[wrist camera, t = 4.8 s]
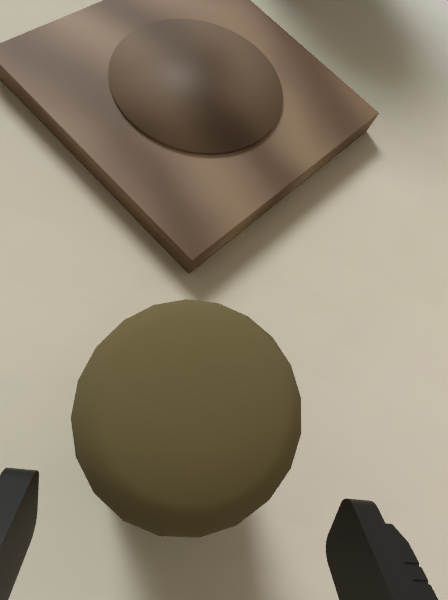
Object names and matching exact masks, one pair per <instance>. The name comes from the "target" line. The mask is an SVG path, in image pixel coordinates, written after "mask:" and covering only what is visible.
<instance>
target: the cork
mask: <svg viewBox="0 0 448 600" xmlns="http://www.w3.org/2000/svg"><path fill="white" fill-rule="evenodd" d="M71 422H72V430H73V437H74V445H75V452H76V458H77V460H78V462H79V464H80V466H81V468H82V470H83V472H84V474H85V476H86V478H87V480H88V482H89V484H90V486H91V488H92V490H93V492H94V493H95V494H96V495H97V496H98V497H99V498H100V499H101V500H102V501H103V502H104V503H105V504H106V505H107V506H108V507H109V508H111V509H112V510H113V511H114V512H115V513H116V514H117V515H118V516H119V517H120V518H121V519H122V520H123V521H126V522H128V523H130V524H133V525H135V526H138V527H140V528H142V529H145V530H147V531H149V532H152V533H154V534H156V535H159V536H176V537H202V536H205V535H208V534H211V533H214V532H217V531H220V530H223V529H226V528H229V527H233V526H236V525H237V524H239V523H240V522H241V521H242V520H244V519H245V518H246V517H248V516H249V515H250V514H252V513H253V512H254V511H255V510H257V509H258V508H259V507H261V506H262V505H263V504H265V503H266V502H267V501H268V500H269V499H270V498H271V497H272V495H273V494H274V492H275V491H276V489H277V488H278V486H279V485H280V483H281V482H282V480H283V479H284V477H285V476H286V474H287V473H288V471H289V470H290V468H291V465H292V462H293V459H294V455H295V452H296V449H297V445H298V442H299V438H300V435H301V397H300V394H299V391H298V387H297V384H296V381H295V377H294V374H293V371H292V367H291V365H290V363H289V362H288V360H287V359H286V357H285V356H284V354H283V353H282V351H281V350H280V348H279V346H278V345H277V343H276V342H275V340H274V339H273V337H271V336H270V335H269V334H268V333H267V332H266V331H264V330H263V329H262V328H261V327H260V326H259V325H257V324H256V323H255V322H254V321H253V320H251V319H250V318H249V317H248V316H246V315H243V314H241V313H239V312H237V311H234V310H232V309H230V308H228V307H225V306H223V305H221V304H218V303H210V302H202V301H195V300H181V301H175V302H169V303H163V304H158V305H153V306H151V307H149V308H147V309H145V310H143V311H141V312H139V313H138V314H136V315H134V316H132V317H130V318H128V319H126V320H124V321H123V322H122V323H121V324H120V325H119V326H118V327H117V328H115V329H114V330H113V331H112V332H111V333H110V334H109V335H108V336H107V337H106V338H105V339H104V340H103V341H102V342H101V343H100V344H99V345H98V346H97V347H96V349H95V350H94V352H93V354H92V356H91V358H90V360H89V361H88V363H87V365H86V367H85V369H84V371H83V372H82V374H81V376H80V378H79V380H78V384H77V389H76V394H75V400H74V405H73V410H72V415H71Z"/></svg>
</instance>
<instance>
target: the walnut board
mask: <svg viewBox="0 0 448 600" xmlns="http://www.w3.org/2000/svg"><path fill="white" fill-rule="evenodd" d="M0 79H1V81H2V82H3V83H4V84H5V85H6V86H7V87H8V88H9V89H10V90H11V91H12V92H13V93H14V94H15V95H16V96H17V97H18V98H19V99H20V100H21V101H22V102H23V103H24V104H25V105H26V106H27V107H28V108H29V109H30V110H31V111H32V112H33V113H34V115H35V116H36V117H37V118H38V119H39V120H40V121H41V122H42V123H43V124H44V125H45V126H46V127H47V128H48V129H49V130H50V131H51V132H52V133H53V134H54V135H55V136H56V137H57V138H58V139H59V140H60V141H61V142H62V143H63V144H64V145H65V146H66V147H67V148H68V150H69V151H70V152H71V153H72V154H73V155H74V156H75V157H76V158H77V159H78V160H79V161H80V162H81V163H82V164H83V165H84V166H85V167H86V168H87V169H88V170H89V171H90V172H91V173H92V174H93V175H94V176H95V177H96V178H97V179H98V180H99V181H100V182H101V184H102V185H103V186H104V187H105V188H106V189H107V190H108V191H109V192H110V193H111V194H112V195H113V196H114V197H115V198H116V199H117V200H118V201H119V202H120V203H121V204H122V205H123V206H124V207H125V208H126V209H127V210H128V211H129V212H130V213H131V214H132V215H133V216H134V217H135V219H136V220H137V221H138V222H139V223H140V224H141V225H142V226H143V227H144V228H145V229H146V230H147V231H148V232H149V233H150V234H151V235H152V236H153V237H154V238H155V239H156V240H157V241H158V242H159V243H160V244H161V245H162V246H163V247H164V248H165V249H166V250H167V251H168V253H169V254H170V255H171V256H172V257H173V258H174V259H175V260H176V261H177V262H178V263H179V264H180V265H181V266H182V267H183V268H184V269H185V270H186V271H187V272H188V273H190V272H191V271H192V270H194V269H195V268H196V267H197V266H199V265H200V264H201V263H202V262H204V261H205V260H206V259H207V258H209V257H210V256H211V255H212V254H214V253H215V252H216V251H217V250H219V249H220V248H221V247H222V246H224V245H225V244H226V243H227V242H229V241H230V240H231V239H232V238H234V237H235V236H236V235H237V234H239V233H240V232H241V231H242V230H244V229H245V228H246V227H247V226H249V225H250V224H251V223H252V222H254V221H255V220H256V219H257V218H259V217H260V216H261V215H262V214H264V213H265V212H266V211H267V210H268V209H270V208H271V207H272V206H273V205H275V204H276V203H277V202H278V201H280V200H281V199H282V198H283V197H285V196H286V195H287V194H288V193H290V192H291V191H292V190H293V189H295V188H296V187H297V186H298V185H300V184H301V183H302V182H303V181H305V180H306V179H307V178H308V177H310V176H311V175H312V174H313V173H315V172H316V171H317V170H318V169H320V168H321V167H322V166H323V165H325V164H326V163H327V162H328V161H330V160H331V159H332V158H333V157H335V156H336V155H337V154H338V153H340V152H341V151H342V150H343V149H345V148H346V147H347V146H348V145H350V144H351V143H352V142H353V141H355V140H356V139H357V138H358V137H360V136H361V135H362V134H363V133H365V132H366V131H367V130H368V128H369V127H370V125H371V124H372V122H373V121H374V120H375V118H376V117H377V115H378V114H379V113H378V112H377V111H376V110H375V109H374V108H373V107H371V106H370V105H369V104H368V103H367V102H366V101H365V100H363V99H362V98H361V97H360V96H359V95H358V94H357V93H355V92H354V91H353V90H352V89H351V88H350V87H349V86H347V85H346V84H345V83H344V82H343V81H342V80H341V79H339V78H338V77H337V76H336V75H335V74H334V73H333V72H331V71H330V70H329V69H328V68H327V67H326V66H325V65H323V64H322V63H321V62H320V61H319V60H318V59H317V58H315V57H314V56H313V55H312V54H311V53H310V52H309V51H307V50H306V49H305V48H304V47H303V46H302V45H301V44H299V43H298V42H297V41H296V40H295V39H294V38H293V37H291V36H290V35H289V34H288V33H287V32H286V31H285V30H283V29H282V28H281V27H280V26H279V25H278V24H277V23H275V22H274V21H273V20H272V19H271V18H270V17H269V16H267V15H266V14H265V13H264V12H263V11H262V10H261V9H259V8H258V7H257V6H256V5H255V4H254V3H253V2H251V1H250V0H103V1H101V2H98V3H96V4H94V5H91V6H89V7H86V8H84V9H82V10H79V11H77V12H74V13H72V14H70V15H67V16H65V17H62V18H60V19H58V20H55V21H53V22H50V23H48V24H46V25H43V26H41V27H38V28H36V29H34V30H31V31H29V32H26V33H24V34H22V35H19V36H17V37H14V38H12V39H10V40H7V41H5V42H2V43H0Z"/></svg>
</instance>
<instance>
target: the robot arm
mask: <svg viewBox="0 0 448 600" xmlns="http://www.w3.org/2000/svg"><path fill="white" fill-rule="evenodd" d="M38 485H39V472H38V471H36V470H26V469H15V468H5V469H4V470H3V472H2V473H1V475H0V600H8V599H9V596H10V594H11V591H12V588H13V586H14V583H15V581H16V578H17V576H18V573H19V570H20V568H21V565H22V563H23V560H24V558H25V555H26V552H27V550H28V547H29V545H30V542H31V539H32V536H33V532H34V529H35V524H36V519H37V506H38ZM326 556H327V561H328V565H329V568H330V571H331V575H332V578H333V581H334V584H335V587H336V591H337V594H338V597H339V600H438V598H437V597H436V595H435V593H434V591H433V589H432V587H431V585H429V584H428V579H427V577H426V575H425V574H424V572H423V570H422V568H421V567H419V562H418V560H417V558H416V556H415V554H414V552H413V550H412V549H411V547H410V545H409V543H408V542H407V540H406V539H405V538H404V537H403V536H402V535H401V534H400V532H399V531H398V530H397V529H396V528H395V527H394V526H393V525H392V524H385V522H384V520H383V518H382V516H381V513H380V511H379V509H378V507H377V506H376V504H375V503H374V502H372V501H366V500H356V499H344V500H343V501H342V502H341V505H340V507H339V509H338V512H337V514H336V517H335V519H334V522H333V524H332V526H331V529H330V531H329V534H328V536H327V541H326Z"/></svg>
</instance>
